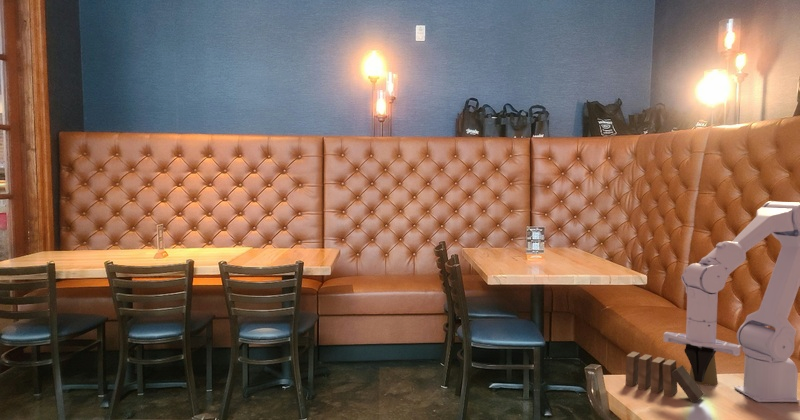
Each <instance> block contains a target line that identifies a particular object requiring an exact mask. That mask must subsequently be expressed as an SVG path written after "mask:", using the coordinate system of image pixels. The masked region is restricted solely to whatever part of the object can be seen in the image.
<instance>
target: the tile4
mask: <svg viewBox="0 0 800 420" xmlns="http://www.w3.org/2000/svg"><path fill="white" fill-rule="evenodd" d="M652 361H653V355H650V354H647V353H645V354H643V355H642V356H640V358H639V366H638V383H637V388H638V389H640V390H644V391H646V390H647V389H648V388H650V387H651V363H652Z"/></svg>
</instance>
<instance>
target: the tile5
mask: <svg viewBox="0 0 800 420" xmlns="http://www.w3.org/2000/svg"><path fill="white" fill-rule="evenodd" d="M625 356H626V357H625V359H626V360H625V361H626V362H625V385H626V386H629V387H634V386H635V385H638V366H639V358H640V357H641V353H640V352H637V351H631V352H629V353H628V354H627V355H625Z"/></svg>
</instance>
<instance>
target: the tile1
mask: <svg viewBox="0 0 800 420" xmlns="http://www.w3.org/2000/svg"><path fill="white" fill-rule="evenodd" d="M671 375H672V376H673V377H674V379H675V380H676V381H677V385H679V387H680V388H681V389H682V391H683V392H684V393H685V395H686V396H687V398H688V399H689V400H690V402H691V403H694V402H697V401H699V400H700V399H701V398H702V397H703V396H704V395H705V393H704V392H703V390H702V389H701V387H700V386H699V385H698V383H696V382H695V381H694V380H693V378H692V377H691V376H690V372H688V370H687V369H686V367H684V365H679V366H678V367H676V369H675V370H674V371H673V372H671Z"/></svg>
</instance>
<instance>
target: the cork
mask: <svg viewBox="0 0 800 420" xmlns="http://www.w3.org/2000/svg"><path fill="white" fill-rule="evenodd" d="M715 354H716V353H715ZM715 354H714V356H713V357H712V359H711V361H710V363H709V365H708V367H707V370H706V373H705V377H704V381H703V382H697V381H695V380H694V374H693V370H692V367H691V366H690V369H689V370H690V371H689V374H690V376H691V377H692V378H693V380H694V381H695V382H696V384H697V385H698V384H699V385H704V386H716V385H718V383H719V382H718V374H717V372H718V371H717V364H716V363H717V362H716V355H715Z"/></svg>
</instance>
